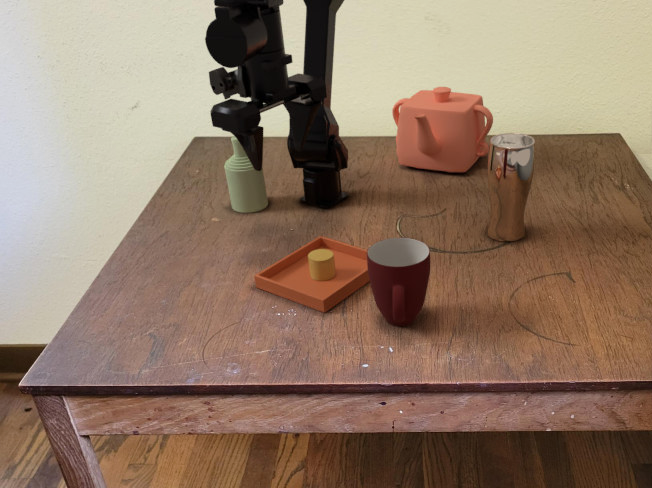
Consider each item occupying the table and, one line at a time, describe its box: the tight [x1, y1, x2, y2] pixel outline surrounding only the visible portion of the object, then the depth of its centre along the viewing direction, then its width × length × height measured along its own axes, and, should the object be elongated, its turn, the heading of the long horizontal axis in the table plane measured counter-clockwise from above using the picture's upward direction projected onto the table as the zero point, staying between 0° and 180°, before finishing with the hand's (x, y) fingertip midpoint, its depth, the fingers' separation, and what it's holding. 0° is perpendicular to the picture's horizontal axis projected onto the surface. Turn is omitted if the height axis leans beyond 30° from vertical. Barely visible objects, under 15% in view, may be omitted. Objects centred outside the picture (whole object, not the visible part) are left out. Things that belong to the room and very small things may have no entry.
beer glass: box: [486, 132, 536, 243], centre depth 110 cm, size 7×7×15 cm
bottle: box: [223, 135, 269, 214], centre depth 123 cm, size 6×6×12 cm
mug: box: [367, 237, 431, 327], centre depth 92 cm, size 11×8×10 cm
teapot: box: [391, 86, 494, 174], centre depth 133 cm, size 20×19×14 cm
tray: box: [253, 235, 370, 313], centre depth 105 cm, size 15×13×2 cm
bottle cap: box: [308, 249, 335, 281], centre depth 104 cm, size 4×4×3 cm
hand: (279, 160), depth 108 cm, fingers open, 9 cm apart
